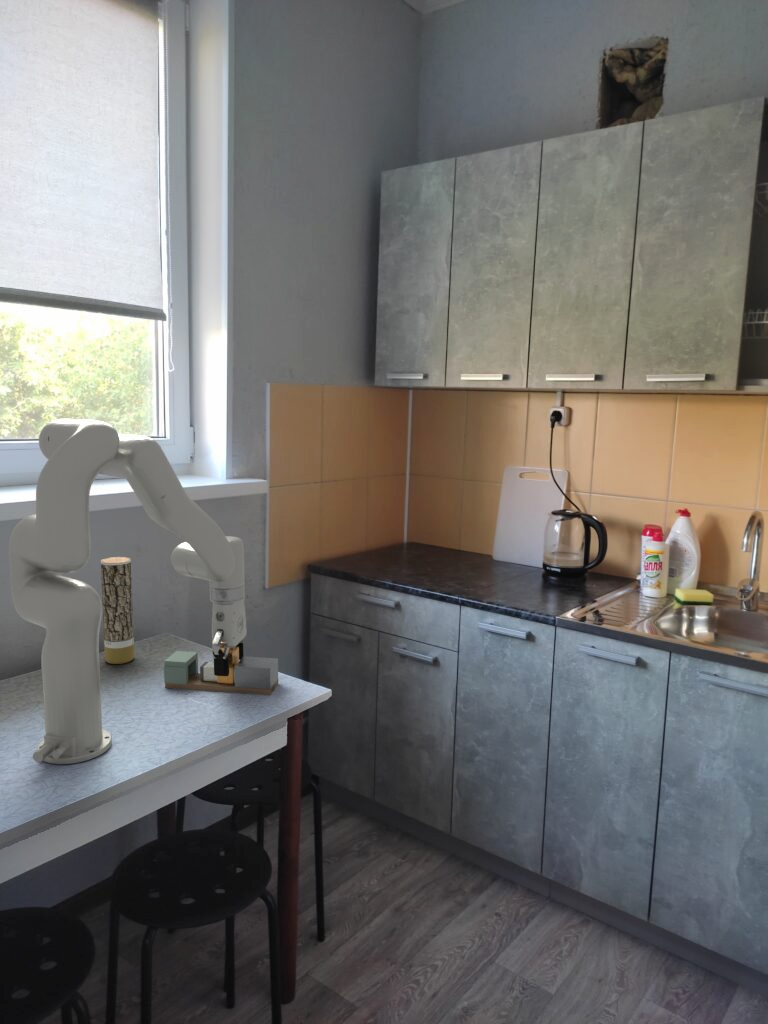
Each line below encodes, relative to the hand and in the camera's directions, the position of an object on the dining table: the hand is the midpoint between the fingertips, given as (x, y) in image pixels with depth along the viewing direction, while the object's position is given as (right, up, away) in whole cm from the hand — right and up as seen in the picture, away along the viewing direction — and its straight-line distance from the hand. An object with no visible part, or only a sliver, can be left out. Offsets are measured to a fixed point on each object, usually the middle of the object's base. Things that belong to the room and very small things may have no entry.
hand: (229, 667), depth 164 cm
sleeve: (+6, -3, -1) cm, 7 cm away
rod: (+1, -3, 0) cm, 3 cm away
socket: (-11, -3, +2) cm, 12 cm away
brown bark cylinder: (-30, -2, +15) cm, 34 cm away
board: (-2, -4, +1) cm, 5 cm away
